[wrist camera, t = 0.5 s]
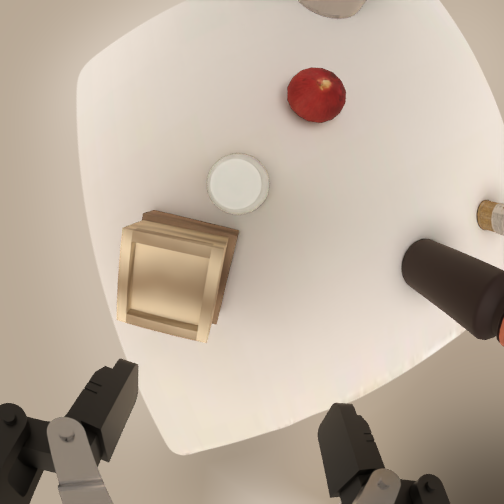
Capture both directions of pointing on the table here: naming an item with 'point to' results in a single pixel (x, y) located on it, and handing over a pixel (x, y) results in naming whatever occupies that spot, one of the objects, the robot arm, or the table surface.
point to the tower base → (206, 228)
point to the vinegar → (458, 286)
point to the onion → (316, 94)
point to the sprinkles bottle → (491, 216)
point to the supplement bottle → (238, 184)
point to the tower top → (169, 278)
